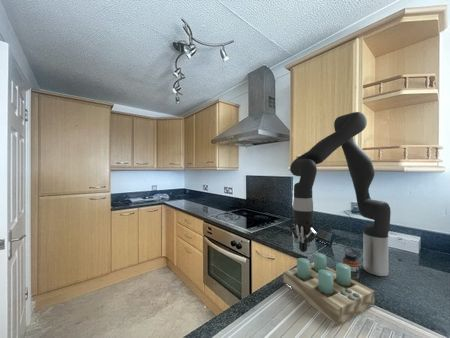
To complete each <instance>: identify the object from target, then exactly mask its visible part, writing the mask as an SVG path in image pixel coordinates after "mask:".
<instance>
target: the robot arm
mask: <svg viewBox="0 0 450 338" xmlns="http://www.w3.org/2000/svg"><path fill="white" fill-rule="evenodd" d="M367 123H368V121H367V117H366V114H364V113H363V112H362V111H353V112H350V113H347V114H346V113H345V114H343V115H340V116H337V117H336V118H335V120H334V122H333V128H334V132H333V133H331V134H329V135H327V136H325V137H324V138H322V139H321V140H319V141H318V142H317V143H316V144H314V145H313V146H312V147H311V148H310V149H309V150H308V151H306V152H304V153H303V154H301V155H300V156H298V157H297V158H295V159H294V160H292V162H291V164H290V167H289V168H290V173H291V174H292V175H293V176H295V177H300V178H299V180H298V181H299V182H296V183H294V185H293V199H292V200H293V201H292V217H293V218H292V219H293V224H290V225H289V228H290V230H291V232H292V234H293V236H294V238H295V240H296V239H297V241H298V248H299V251H300V252H302V253H305V252H307V251H308V244H309V243H312V242H313V241H315V239H316V237H318V235H319V232H318V231H315V229H314V226H313V222H314V201H313V199H314V198H313V187H314V183H315V181H316V180H315V179H316V176H317V172H318V170H317V169H318V168H317V165H320V164H321V163H323V162H324V161H325V160H326V159H327V158H329V157H330V156H331V154H333V153H334V152H335V151H336V150H338V149H339V148H340V147H341V148H342V151H343V154H344V158H345V160H346V165H347V169H348V171H349V172H348V173H349V174H350V177H351V181H352V184H353V188H354V192H355V198H356V204H357V209H358V212H359V214H360V216H362V217H363V218H366V219H369V220H372V221H373V224H371V225H370V224H369V225H365V226H363V228H362V230H363V231H362V234H363V235H362V237H363V238H362V239H363V240H362V243H363V247H362V251H363V252H362V254H363V256H362V257H363V260H362V261H363V263H362V264H363V265H362V266H363V267H362V268H363V270H365V272H367V273H369V274H371V275H375V276H377V277H387V276H389V232H390V226H391V214H392V213H391V212H392V211H391V207H390V205H389V203H387V202H386V201H383V200H377V199H376V200H375V199H372V198H371V196H370V191H369V189H370V186H371V184H372V182H373V180H374V178H375V169H374V165H373V164H374V163H373V161H372V158H371V157H370V156H369V155H368V154H367V153H366V152H365V151H364V150H363V149H362V148H361V147H360V146H359V145H358V144H357V142H356V141H355V138H354V137H355V136H357V135H359V134H361V133H362V132H363V131H364V130H365V129H366V127H367Z"/></svg>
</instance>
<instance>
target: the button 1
mask: <svg viewBox="0 0 450 338" xmlns="http://www.w3.org/2000/svg"><path fill="white" fill-rule="evenodd" d="M310 263H311V261H310V260H309V259H307V258H304V257H299V258H297V259H296V268H297V275H298V277H300V278H303V279H308V278H310Z"/></svg>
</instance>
